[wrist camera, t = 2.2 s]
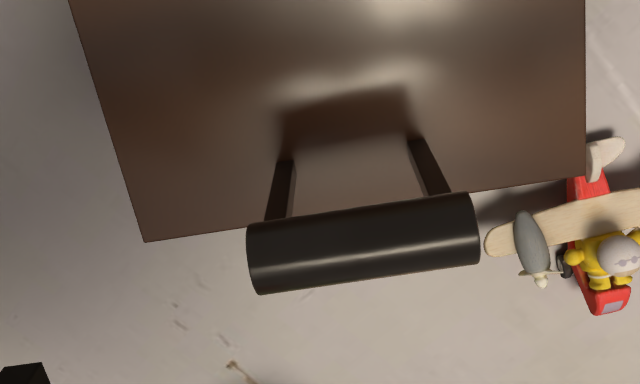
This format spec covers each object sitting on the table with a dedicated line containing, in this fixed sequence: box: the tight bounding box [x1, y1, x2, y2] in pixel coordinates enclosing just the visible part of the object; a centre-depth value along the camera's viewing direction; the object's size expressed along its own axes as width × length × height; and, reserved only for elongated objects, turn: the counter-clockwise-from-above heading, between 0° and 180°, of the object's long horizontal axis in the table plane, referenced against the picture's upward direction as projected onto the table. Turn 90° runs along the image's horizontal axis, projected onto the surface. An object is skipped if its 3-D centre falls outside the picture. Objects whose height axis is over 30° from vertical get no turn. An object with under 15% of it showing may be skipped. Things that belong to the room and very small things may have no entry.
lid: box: [68, 0, 586, 295], centre depth 18 cm, size 14×18×9 cm
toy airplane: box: [484, 137, 640, 316], centre depth 31 cm, size 9×9×6 cm
